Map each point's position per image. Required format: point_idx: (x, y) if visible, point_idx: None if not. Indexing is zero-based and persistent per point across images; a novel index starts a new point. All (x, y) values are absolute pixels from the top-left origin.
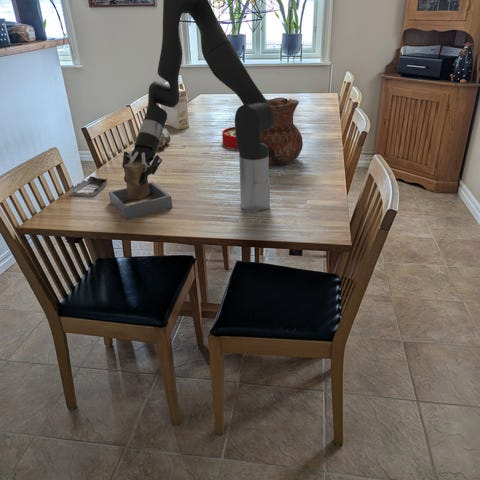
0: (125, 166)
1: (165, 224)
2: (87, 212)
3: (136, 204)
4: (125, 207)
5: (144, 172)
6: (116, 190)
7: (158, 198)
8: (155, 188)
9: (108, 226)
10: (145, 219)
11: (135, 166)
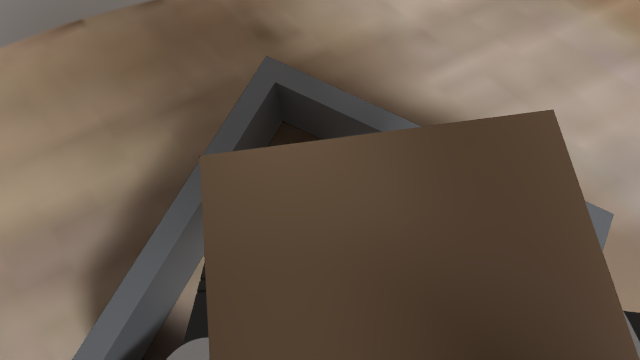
0: (497, 117)
1: (22, 150)
2: (546, 68)
3: (226, 133)
4: (265, 65)
5: (194, 342)
6: None
7: (126, 303)
8: None
9: (305, 6)
10: (172, 147)
11: (276, 202)
